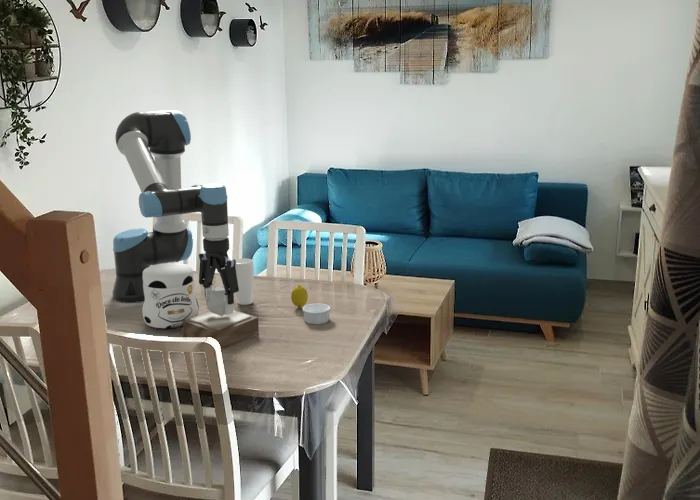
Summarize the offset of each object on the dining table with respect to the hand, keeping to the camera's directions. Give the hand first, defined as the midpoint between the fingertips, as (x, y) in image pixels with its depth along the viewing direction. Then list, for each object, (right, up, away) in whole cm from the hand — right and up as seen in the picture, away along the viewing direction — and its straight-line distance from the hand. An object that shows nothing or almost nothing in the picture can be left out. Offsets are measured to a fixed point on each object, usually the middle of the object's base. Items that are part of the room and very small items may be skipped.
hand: (219, 310), depth 217 cm
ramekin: (+28, -5, +15) cm, 32 cm away
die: (0, -1, 0) cm, 1 cm away
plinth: (0, -8, +2) cm, 8 cm away
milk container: (-17, -5, +12) cm, 22 cm away
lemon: (+22, -1, +26) cm, 34 cm away
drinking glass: (+3, 0, +31) cm, 31 cm away
